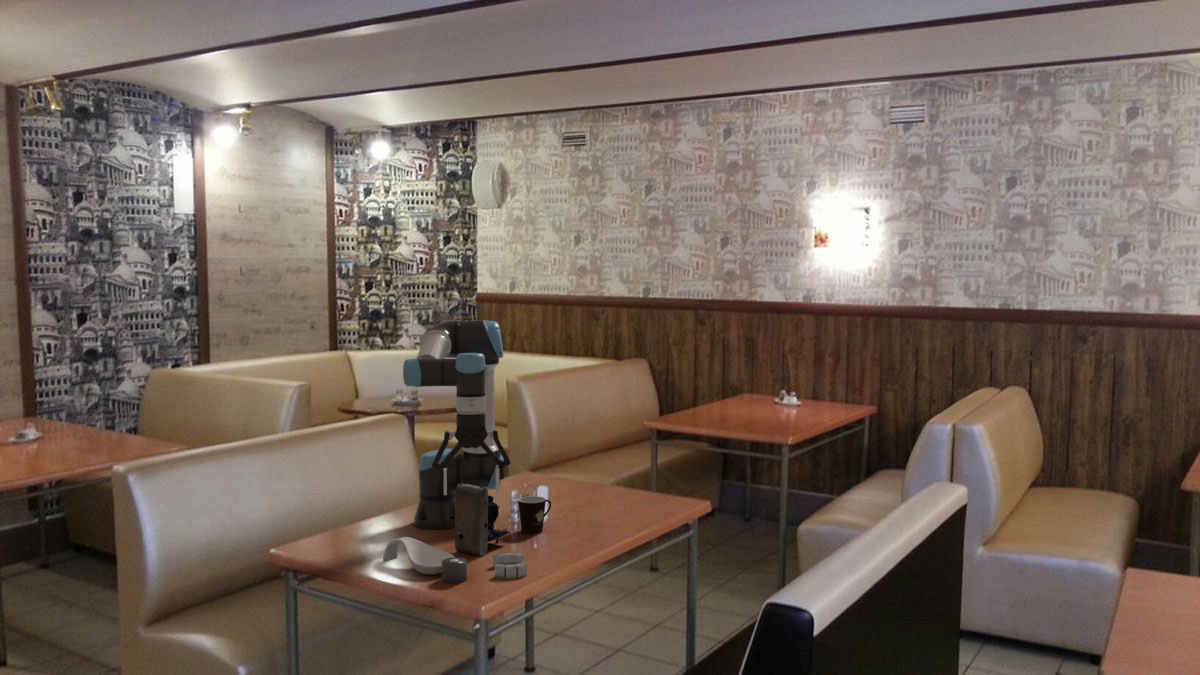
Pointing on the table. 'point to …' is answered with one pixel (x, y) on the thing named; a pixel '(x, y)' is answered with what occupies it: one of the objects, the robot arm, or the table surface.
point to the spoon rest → (418, 555)
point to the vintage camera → (475, 519)
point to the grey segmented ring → (509, 565)
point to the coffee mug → (532, 513)
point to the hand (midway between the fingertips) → (471, 493)
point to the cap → (454, 570)
